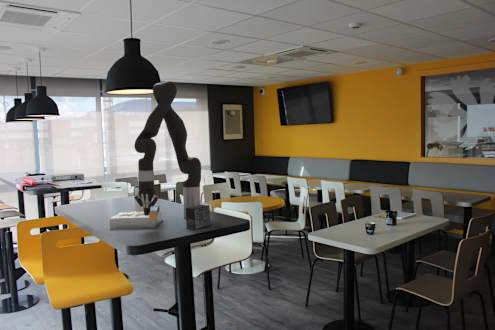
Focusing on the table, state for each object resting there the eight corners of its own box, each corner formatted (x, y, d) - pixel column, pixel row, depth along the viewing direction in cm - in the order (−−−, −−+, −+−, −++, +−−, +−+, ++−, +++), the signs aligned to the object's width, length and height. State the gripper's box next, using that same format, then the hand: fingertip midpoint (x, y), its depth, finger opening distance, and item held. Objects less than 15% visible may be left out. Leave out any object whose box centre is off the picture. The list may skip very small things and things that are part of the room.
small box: (201, 225, 198) (201, 204, 198) (211, 226, 194) (210, 205, 194) (185, 229, 190) (185, 207, 190) (195, 230, 186) (194, 208, 186)
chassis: (162, 220, 214) (161, 209, 214) (155, 227, 196) (154, 216, 196) (120, 221, 213) (120, 211, 213) (110, 228, 195) (109, 217, 195)
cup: (146, 216, 225) (145, 188, 224) (133, 216, 226) (131, 188, 225) (152, 214, 233) (151, 187, 232) (139, 214, 234) (138, 187, 233)
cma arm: (152, 211, 206) (152, 205, 206) (159, 211, 207) (159, 205, 206) (149, 220, 184) (148, 213, 184) (156, 219, 185) (156, 212, 184)
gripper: (129, 180, 190) (131, 216, 191) (154, 180, 186) (155, 217, 188) (138, 178, 197) (139, 213, 198) (162, 179, 194) (163, 214, 195)
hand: (147, 215), depth 193 cm, fingers closed
